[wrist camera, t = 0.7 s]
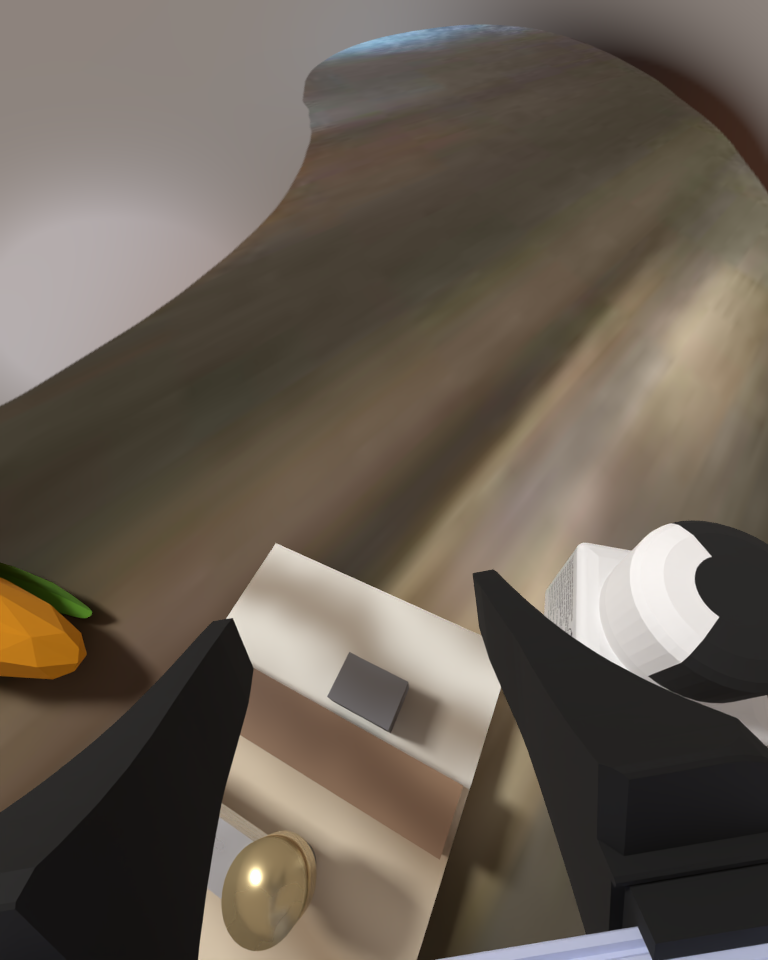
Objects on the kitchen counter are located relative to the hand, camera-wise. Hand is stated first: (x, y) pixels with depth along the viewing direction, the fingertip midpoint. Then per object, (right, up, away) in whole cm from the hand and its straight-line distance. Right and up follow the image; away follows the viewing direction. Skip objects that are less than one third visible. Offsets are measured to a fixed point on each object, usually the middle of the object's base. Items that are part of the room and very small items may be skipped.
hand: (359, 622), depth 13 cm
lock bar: (-7, -12, +7) cm, 15 cm away
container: (+14, -7, +14) cm, 21 cm away
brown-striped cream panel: (-3, -11, +12) cm, 17 cm away
